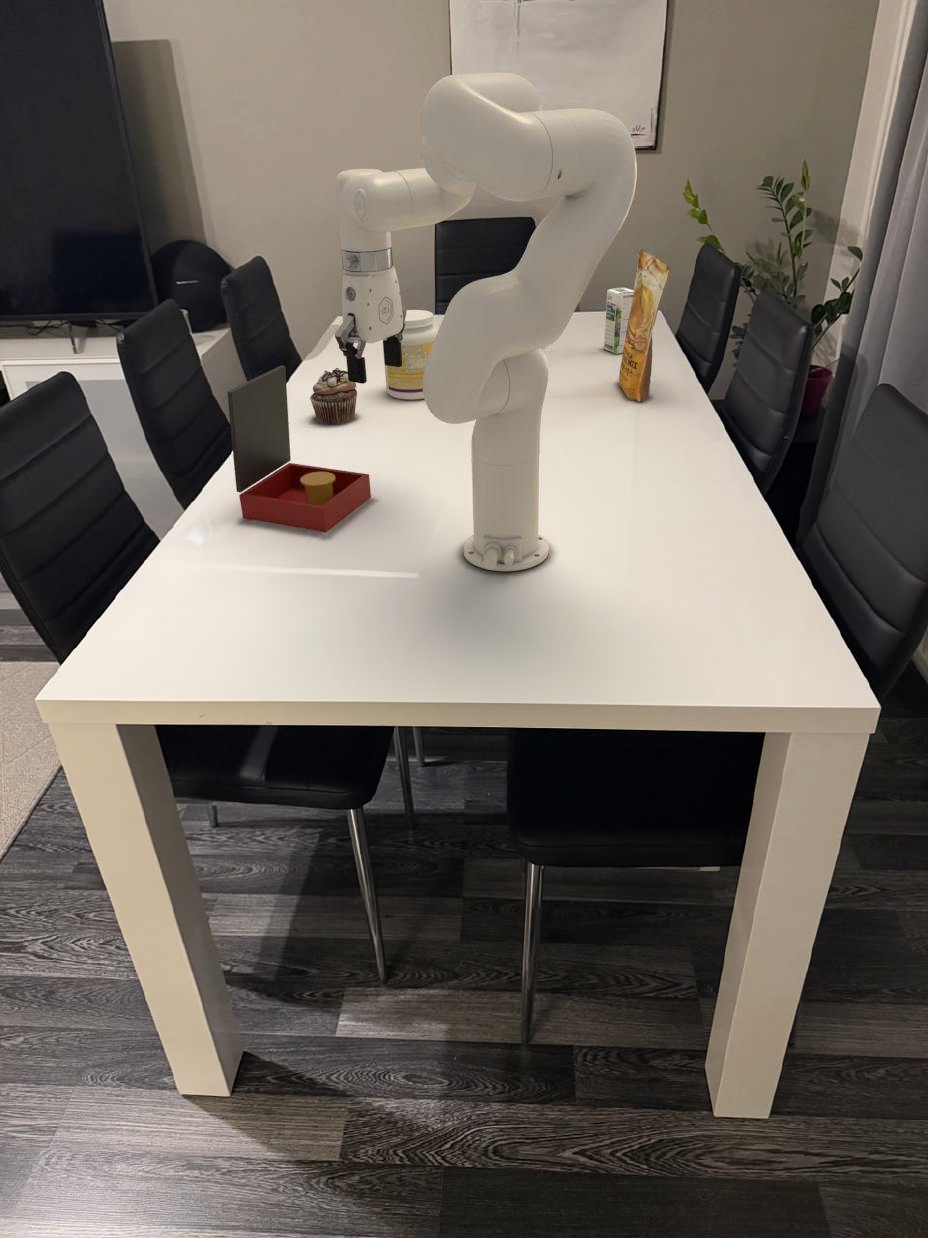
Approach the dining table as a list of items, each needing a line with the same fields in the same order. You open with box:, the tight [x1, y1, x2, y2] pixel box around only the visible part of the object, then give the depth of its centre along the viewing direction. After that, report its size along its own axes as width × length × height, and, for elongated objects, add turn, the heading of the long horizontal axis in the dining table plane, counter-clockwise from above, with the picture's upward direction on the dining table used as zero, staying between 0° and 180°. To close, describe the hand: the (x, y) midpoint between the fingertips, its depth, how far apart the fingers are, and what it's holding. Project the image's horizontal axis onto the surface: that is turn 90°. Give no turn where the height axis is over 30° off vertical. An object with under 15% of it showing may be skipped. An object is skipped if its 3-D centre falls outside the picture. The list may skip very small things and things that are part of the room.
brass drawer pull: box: [300, 472, 335, 506], centre depth 149 cm, size 6×6×5 cm
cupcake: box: [309, 367, 358, 426], centre depth 189 cm, size 10×10×10 cm
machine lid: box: [226, 365, 292, 494], centre depth 147 cm, size 16×15×1 cm
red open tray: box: [238, 462, 372, 533], centre depth 150 cm, size 16×15×5 cm
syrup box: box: [603, 287, 634, 355], centre depth 226 cm, size 6×6×14 cm
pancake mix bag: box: [618, 248, 672, 403], centre depth 194 cm, size 7×19×28 cm, turn 2°
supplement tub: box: [382, 309, 439, 401], centre depth 201 cm, size 12×12×17 cm
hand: (376, 373), depth 147 cm, fingers open, 9 cm apart
